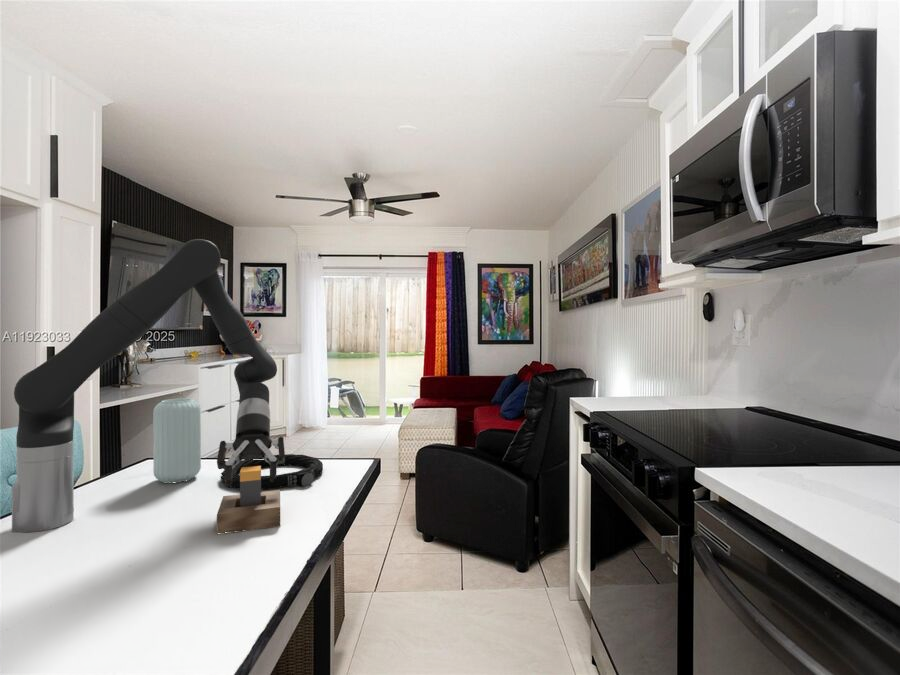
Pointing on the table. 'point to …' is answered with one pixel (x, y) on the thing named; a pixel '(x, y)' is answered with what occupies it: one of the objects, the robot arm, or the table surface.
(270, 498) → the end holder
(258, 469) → the connector plug
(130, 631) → the table surface
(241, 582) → the table surface
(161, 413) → the vase
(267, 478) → the cable lock
